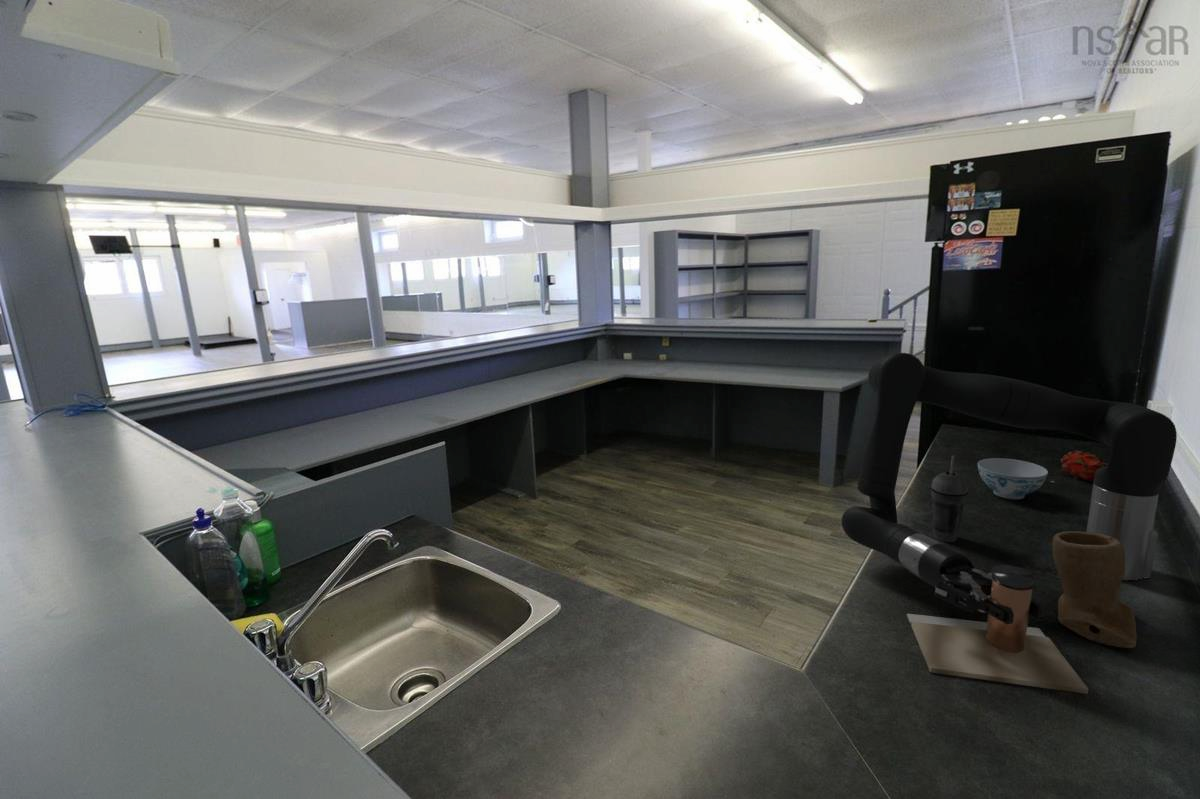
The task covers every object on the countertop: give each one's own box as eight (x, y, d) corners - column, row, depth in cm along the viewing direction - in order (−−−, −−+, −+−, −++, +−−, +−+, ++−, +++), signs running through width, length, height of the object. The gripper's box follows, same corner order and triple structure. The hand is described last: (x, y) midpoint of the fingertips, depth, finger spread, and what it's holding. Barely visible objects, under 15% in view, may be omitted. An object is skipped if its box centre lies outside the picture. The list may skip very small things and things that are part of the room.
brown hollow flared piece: (1047, 590, 105) (1057, 516, 102) (1134, 613, 97) (1148, 534, 94) (1037, 628, 94) (1048, 547, 91) (1134, 658, 86) (1150, 570, 83)
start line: (1038, 629, 94) (1039, 628, 94) (1045, 638, 92) (1045, 636, 91) (906, 615, 99) (907, 613, 99) (910, 622, 97) (910, 621, 97)
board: (1047, 641, 91) (1048, 637, 91) (1087, 693, 80) (1088, 689, 79) (911, 625, 96) (911, 621, 96) (930, 672, 85) (930, 667, 85)
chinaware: (982, 502, 144) (985, 474, 143) (969, 482, 158) (971, 456, 156) (1053, 508, 139) (1057, 479, 137) (1033, 487, 152) (1037, 460, 151)
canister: (1016, 634, 90) (1025, 566, 87) (1031, 655, 85) (1041, 584, 82) (979, 630, 91) (987, 563, 88) (991, 650, 86) (1000, 581, 84)
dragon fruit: (1055, 476, 163) (1106, 494, 153) (1051, 466, 157) (1104, 484, 148) (1069, 452, 163) (1121, 467, 154) (1065, 441, 158) (1119, 456, 149)
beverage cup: (961, 533, 128) (969, 450, 124) (966, 547, 122) (975, 460, 118) (925, 528, 132) (931, 447, 127) (928, 542, 125) (935, 457, 121)
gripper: (901, 549, 98) (991, 602, 81) (967, 536, 101) (1065, 584, 85) (898, 587, 99) (985, 646, 83) (963, 574, 103) (1059, 628, 86)
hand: (1025, 615), depth 84 cm, fingers closed on canister, 5 cm apart
